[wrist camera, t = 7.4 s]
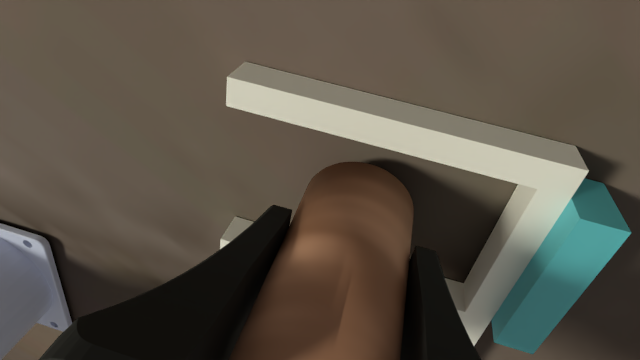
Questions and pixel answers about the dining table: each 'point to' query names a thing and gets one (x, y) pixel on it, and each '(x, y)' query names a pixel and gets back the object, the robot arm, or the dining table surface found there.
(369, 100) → the slot rack
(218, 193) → the dining table surface
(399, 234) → the peg
